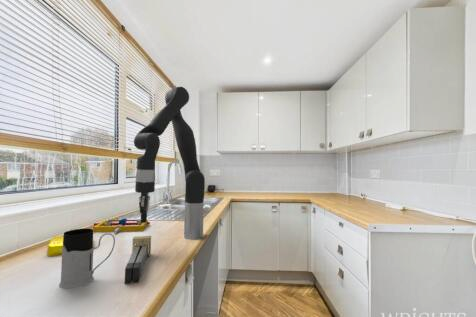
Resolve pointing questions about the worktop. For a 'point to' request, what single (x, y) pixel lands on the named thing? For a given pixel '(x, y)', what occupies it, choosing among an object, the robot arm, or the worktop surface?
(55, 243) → the element tile
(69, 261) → the glass holder
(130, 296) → the worktop surface
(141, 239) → the tan framed block
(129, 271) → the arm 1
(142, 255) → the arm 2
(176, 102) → the robot arm
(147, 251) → the plate
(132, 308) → the worktop surface
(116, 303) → the worktop surface
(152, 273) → the worktop surface
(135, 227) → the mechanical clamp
